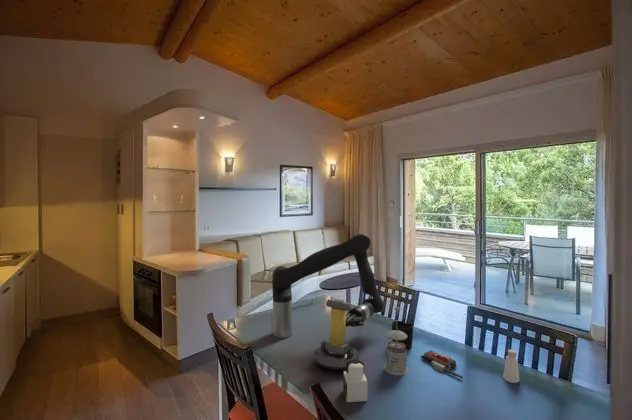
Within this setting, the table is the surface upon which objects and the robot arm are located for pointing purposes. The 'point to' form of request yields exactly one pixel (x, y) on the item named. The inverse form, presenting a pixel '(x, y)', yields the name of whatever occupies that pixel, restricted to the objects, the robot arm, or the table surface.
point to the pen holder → (405, 328)
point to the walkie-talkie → (440, 362)
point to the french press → (398, 359)
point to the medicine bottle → (355, 382)
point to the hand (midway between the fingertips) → (341, 325)
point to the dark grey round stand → (334, 358)
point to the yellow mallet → (338, 326)
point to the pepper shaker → (511, 367)
